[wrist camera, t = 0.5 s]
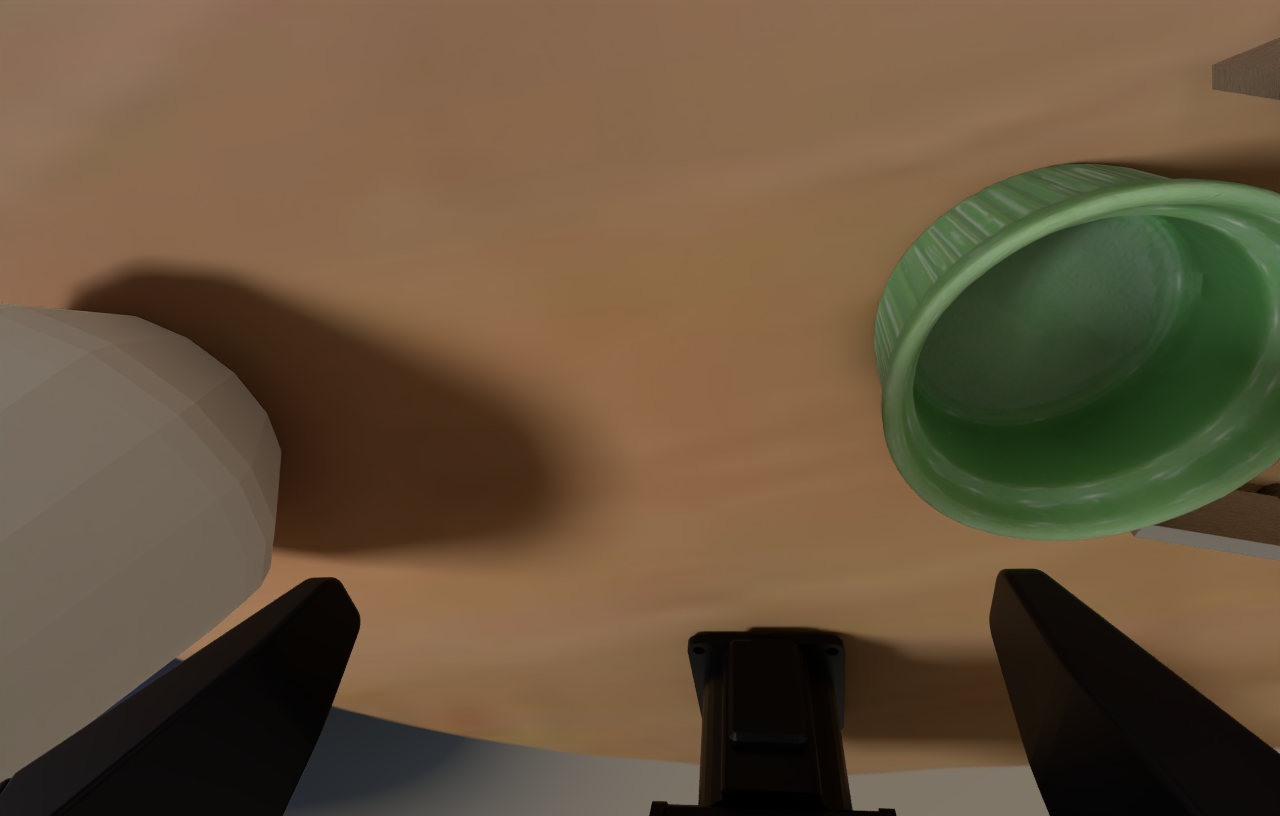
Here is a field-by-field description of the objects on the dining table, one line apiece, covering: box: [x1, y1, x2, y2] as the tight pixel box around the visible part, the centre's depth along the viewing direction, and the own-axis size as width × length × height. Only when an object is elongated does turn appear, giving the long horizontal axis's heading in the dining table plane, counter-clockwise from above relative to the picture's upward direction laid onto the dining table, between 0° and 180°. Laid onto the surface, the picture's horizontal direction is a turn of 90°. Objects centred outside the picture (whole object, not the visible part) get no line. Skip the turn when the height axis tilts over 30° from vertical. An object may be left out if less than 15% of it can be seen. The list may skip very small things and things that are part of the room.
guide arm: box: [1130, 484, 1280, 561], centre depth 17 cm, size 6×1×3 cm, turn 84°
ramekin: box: [874, 164, 1280, 540], centre depth 15 cm, size 9×9×4 cm
